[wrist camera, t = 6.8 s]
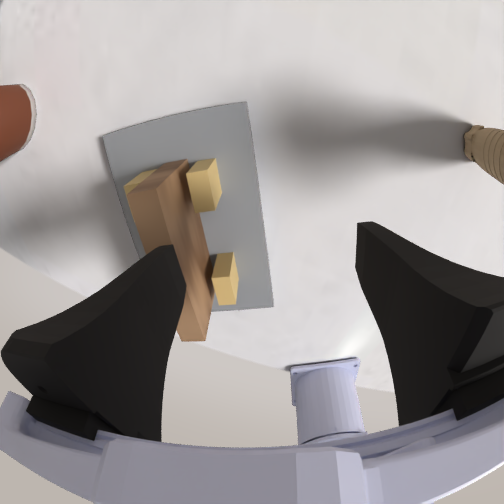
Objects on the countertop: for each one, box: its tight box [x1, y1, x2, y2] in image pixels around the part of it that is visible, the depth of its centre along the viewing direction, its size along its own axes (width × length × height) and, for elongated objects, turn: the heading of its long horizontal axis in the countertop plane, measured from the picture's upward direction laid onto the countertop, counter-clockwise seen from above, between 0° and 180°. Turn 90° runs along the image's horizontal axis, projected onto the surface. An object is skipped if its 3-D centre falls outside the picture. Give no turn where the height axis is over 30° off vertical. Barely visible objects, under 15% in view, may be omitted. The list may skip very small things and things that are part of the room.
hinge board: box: [103, 102, 274, 312], centre depth 19 cm, size 16×10×4 cm, turn 8°
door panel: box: [127, 159, 215, 341], centre depth 17 cm, size 10×2×6 cm, turn 8°
